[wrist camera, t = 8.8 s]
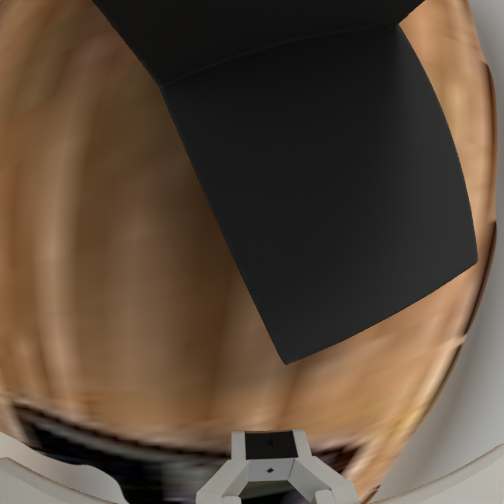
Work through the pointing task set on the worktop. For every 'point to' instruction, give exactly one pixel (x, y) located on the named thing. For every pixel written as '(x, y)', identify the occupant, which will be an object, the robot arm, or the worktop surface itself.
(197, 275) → the worktop surface
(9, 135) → the worktop surface
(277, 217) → the black stepped block
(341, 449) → the worktop surface
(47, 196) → the worktop surface
